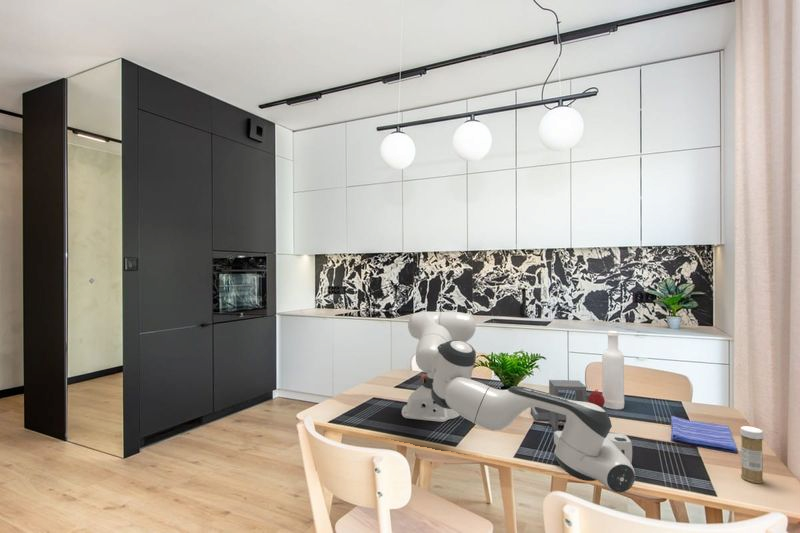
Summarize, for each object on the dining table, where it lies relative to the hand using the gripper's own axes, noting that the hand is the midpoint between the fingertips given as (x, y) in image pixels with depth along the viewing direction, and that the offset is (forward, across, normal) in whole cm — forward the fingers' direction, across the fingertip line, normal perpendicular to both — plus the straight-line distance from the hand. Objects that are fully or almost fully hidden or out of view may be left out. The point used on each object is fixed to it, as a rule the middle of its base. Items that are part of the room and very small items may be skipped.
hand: (583, 431), depth 131 cm
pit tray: (+27, 0, -5) cm, 28 cm away
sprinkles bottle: (-15, +38, -6) cm, 41 cm away
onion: (+37, +16, -5) cm, 41 cm away
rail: (+7, 0, -5) cm, 9 cm away
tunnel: (+18, 0, -5) cm, 19 cm away
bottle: (+42, +24, -5) cm, 49 cm away
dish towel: (+15, +42, -6) cm, 45 cm away
